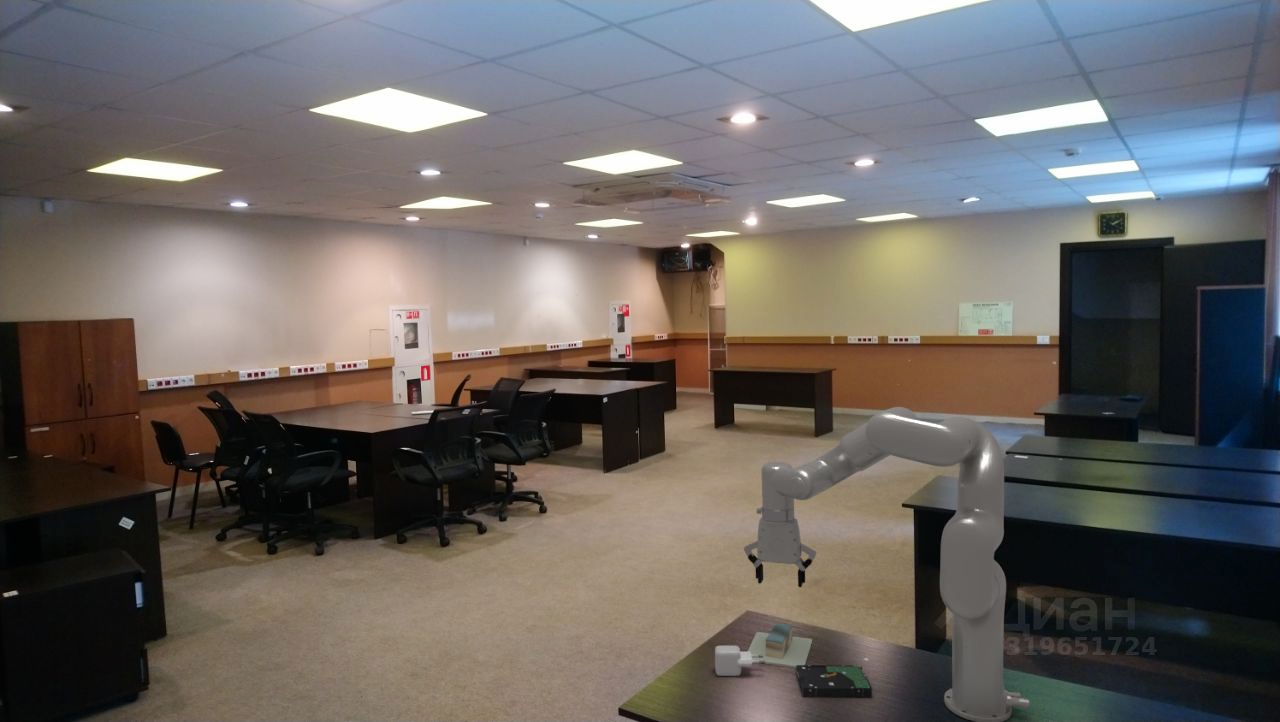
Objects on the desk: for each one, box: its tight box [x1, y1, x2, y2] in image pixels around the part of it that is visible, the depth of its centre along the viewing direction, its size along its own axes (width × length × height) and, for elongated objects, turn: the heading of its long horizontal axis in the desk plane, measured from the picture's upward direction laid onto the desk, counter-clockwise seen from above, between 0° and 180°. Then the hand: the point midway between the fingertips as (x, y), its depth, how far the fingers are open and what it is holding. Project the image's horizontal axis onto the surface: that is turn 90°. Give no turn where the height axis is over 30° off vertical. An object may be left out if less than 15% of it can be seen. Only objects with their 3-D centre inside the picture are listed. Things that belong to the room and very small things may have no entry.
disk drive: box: [795, 664, 873, 699], centre depth 160 cm, size 10×3×15 cm
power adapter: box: [714, 645, 765, 677], centre depth 166 cm, size 11×5×6 cm, turn 87°
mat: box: [746, 631, 814, 669], centre depth 177 cm, size 14×15×1 cm
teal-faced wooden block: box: [766, 622, 793, 659], centre depth 176 cm, size 10×4×4 cm, turn 155°
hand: (780, 583), depth 176 cm, fingers open, 9 cm apart
